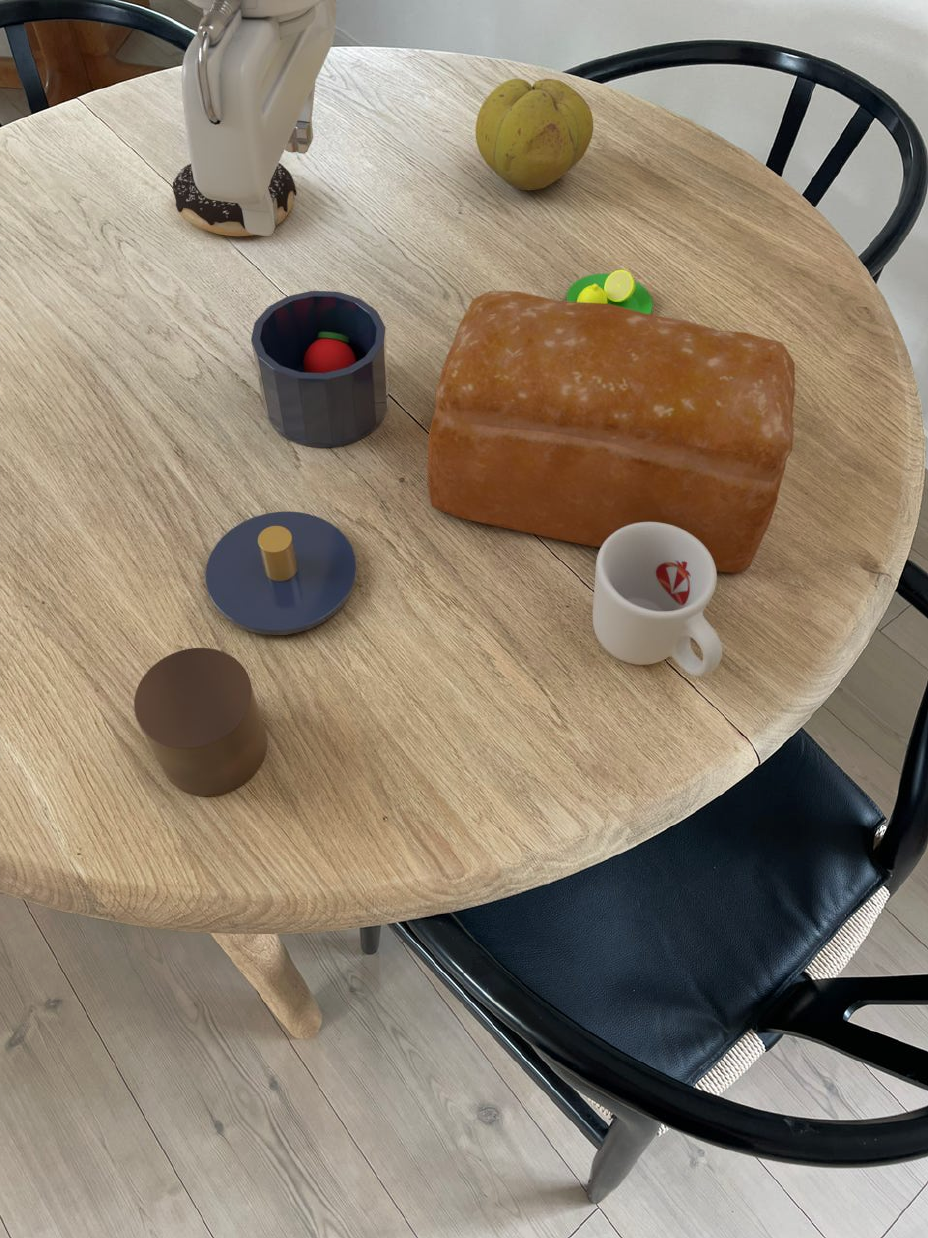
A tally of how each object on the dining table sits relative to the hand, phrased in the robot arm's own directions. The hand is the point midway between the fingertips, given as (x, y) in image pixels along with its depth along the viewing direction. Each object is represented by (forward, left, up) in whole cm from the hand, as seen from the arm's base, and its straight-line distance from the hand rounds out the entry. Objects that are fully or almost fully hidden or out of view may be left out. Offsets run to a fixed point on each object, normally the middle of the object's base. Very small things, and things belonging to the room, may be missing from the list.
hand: (281, 186), depth 64 cm
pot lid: (-7, -14, -21) cm, 26 cm away
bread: (+19, -14, -22) cm, 32 cm away
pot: (+2, +2, -22) cm, 22 cm away
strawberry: (+2, +2, -20) cm, 20 cm away
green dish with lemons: (+30, +6, -22) cm, 38 cm away
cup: (+16, -29, -22) cm, 40 cm away
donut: (+1, +32, -22) cm, 38 cm away
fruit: (+31, +27, -22) cm, 46 cm away
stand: (-15, -26, -22) cm, 37 cm away
